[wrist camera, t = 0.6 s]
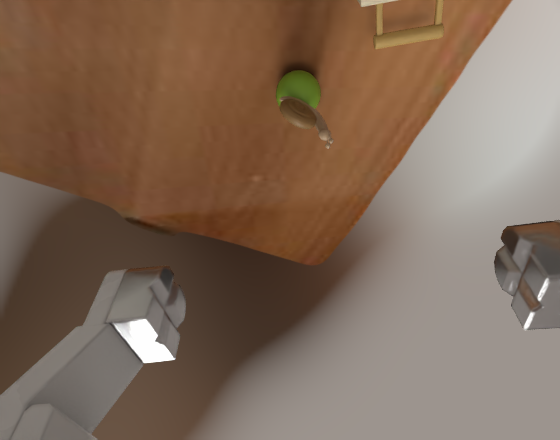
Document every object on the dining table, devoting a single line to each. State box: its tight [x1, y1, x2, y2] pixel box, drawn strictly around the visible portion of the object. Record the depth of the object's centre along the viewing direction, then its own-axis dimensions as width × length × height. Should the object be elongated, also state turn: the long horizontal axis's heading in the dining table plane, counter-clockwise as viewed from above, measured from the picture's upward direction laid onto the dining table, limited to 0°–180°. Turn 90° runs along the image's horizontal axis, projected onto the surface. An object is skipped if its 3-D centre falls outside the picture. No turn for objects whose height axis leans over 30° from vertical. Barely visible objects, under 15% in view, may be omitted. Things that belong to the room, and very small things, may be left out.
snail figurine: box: [276, 70, 333, 148], centre depth 45 cm, size 5×6×12 cm
